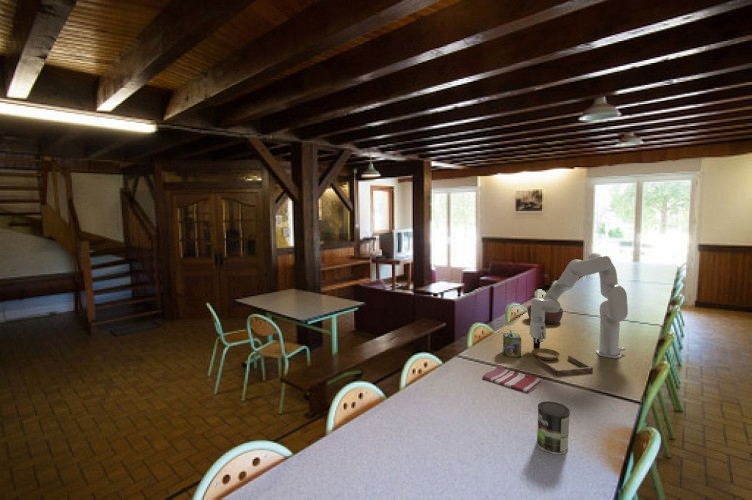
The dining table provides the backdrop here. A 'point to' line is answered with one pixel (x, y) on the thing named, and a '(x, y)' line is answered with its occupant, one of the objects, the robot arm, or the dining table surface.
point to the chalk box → (511, 345)
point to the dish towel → (513, 379)
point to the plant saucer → (545, 354)
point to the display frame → (584, 369)
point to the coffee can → (553, 427)
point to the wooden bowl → (549, 316)
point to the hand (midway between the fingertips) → (536, 348)
